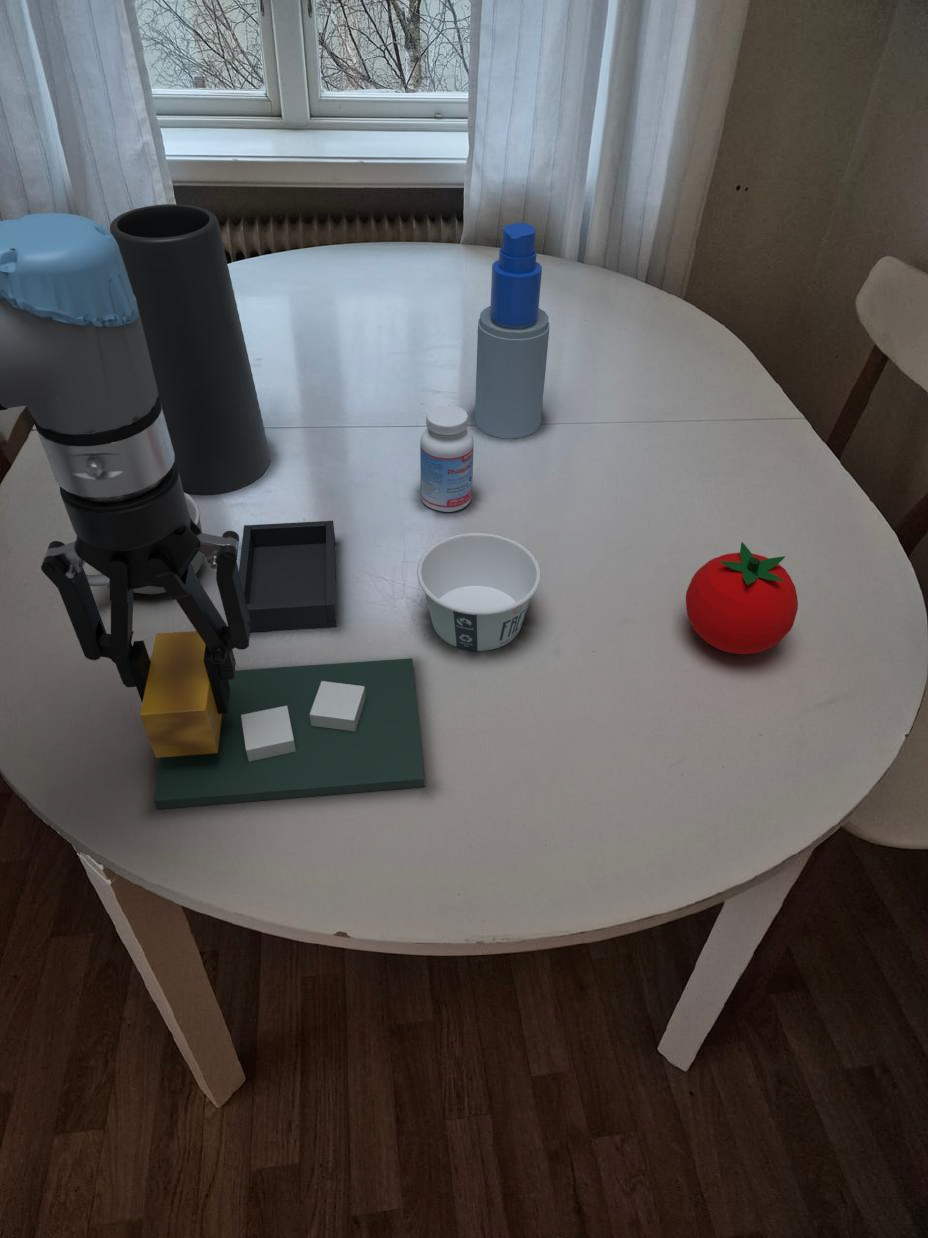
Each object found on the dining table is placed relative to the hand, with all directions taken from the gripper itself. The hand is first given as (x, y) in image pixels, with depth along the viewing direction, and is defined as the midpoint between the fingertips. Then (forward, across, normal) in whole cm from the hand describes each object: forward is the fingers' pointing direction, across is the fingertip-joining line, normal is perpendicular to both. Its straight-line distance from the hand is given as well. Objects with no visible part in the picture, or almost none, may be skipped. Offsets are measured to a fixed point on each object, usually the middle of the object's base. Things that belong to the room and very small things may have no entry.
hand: (189, 703), depth 73 cm
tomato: (+5, +51, +8) cm, 52 cm away
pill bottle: (+5, +25, +34) cm, 43 cm away
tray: (+5, +7, +20) cm, 22 cm away
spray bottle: (+5, +35, +51) cm, 62 cm away
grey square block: (+4, +6, -2) cm, 7 cm away
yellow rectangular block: (+1, 0, 0) cm, 1 cm away
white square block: (+4, +12, +1) cm, 13 cm away
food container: (+5, +26, +13) cm, 30 cm away
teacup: (+5, -8, +22) cm, 24 cm away
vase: (+5, -3, +44) cm, 44 cm away
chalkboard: (+5, +8, 0) cm, 10 cm away
